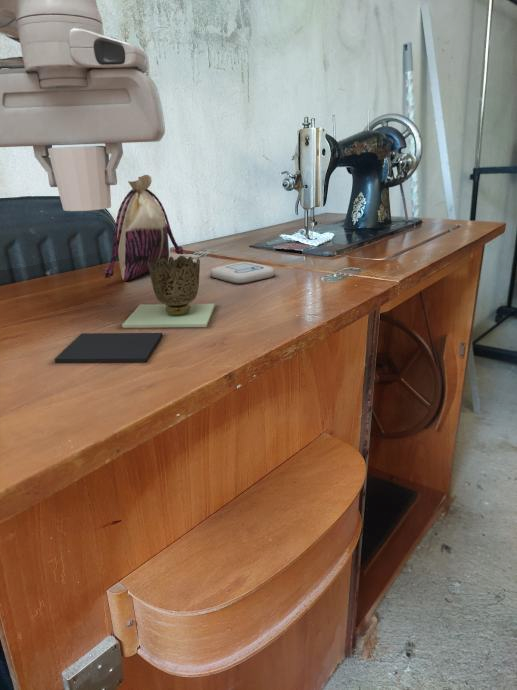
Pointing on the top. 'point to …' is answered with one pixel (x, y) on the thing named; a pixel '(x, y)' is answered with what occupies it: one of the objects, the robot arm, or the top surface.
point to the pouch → (140, 232)
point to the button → (242, 272)
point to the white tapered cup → (81, 177)
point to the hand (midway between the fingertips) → (84, 185)
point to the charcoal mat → (110, 347)
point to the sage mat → (168, 317)
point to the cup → (175, 283)
